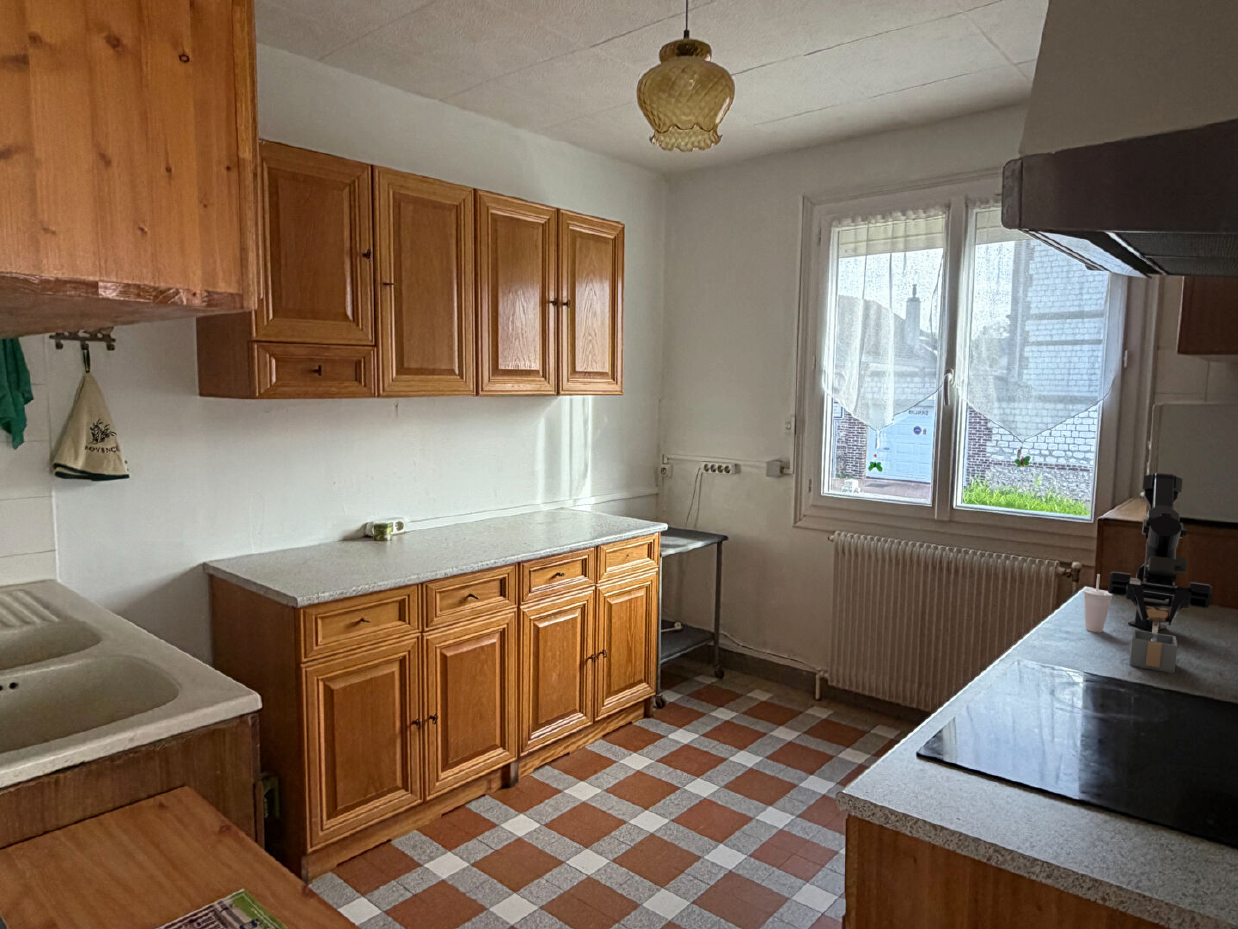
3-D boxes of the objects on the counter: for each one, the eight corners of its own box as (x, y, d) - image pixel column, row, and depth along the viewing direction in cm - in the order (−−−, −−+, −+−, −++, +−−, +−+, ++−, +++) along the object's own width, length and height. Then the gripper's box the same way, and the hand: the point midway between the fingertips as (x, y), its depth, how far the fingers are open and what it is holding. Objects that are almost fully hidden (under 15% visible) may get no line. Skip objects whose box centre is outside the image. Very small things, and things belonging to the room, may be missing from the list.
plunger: (1135, 642, 179) (1140, 602, 178) (1169, 648, 176) (1174, 608, 175) (1136, 650, 174) (1140, 609, 173) (1170, 656, 171) (1175, 614, 170)
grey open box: (1129, 655, 181) (1132, 629, 180) (1172, 662, 176) (1175, 636, 176) (1129, 666, 173) (1132, 639, 172) (1174, 675, 169) (1177, 647, 168)
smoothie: (1101, 626, 201) (1107, 572, 200) (1114, 635, 195) (1120, 578, 194) (1074, 625, 202) (1080, 570, 200) (1086, 633, 196) (1092, 577, 194)
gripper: (1114, 536, 180) (1108, 594, 172) (1216, 548, 171) (1215, 610, 163) (1110, 564, 188) (1105, 621, 180) (1208, 577, 178) (1207, 638, 170)
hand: (1156, 622), depth 173 cm, fingers closed on plunger, 4 cm apart
